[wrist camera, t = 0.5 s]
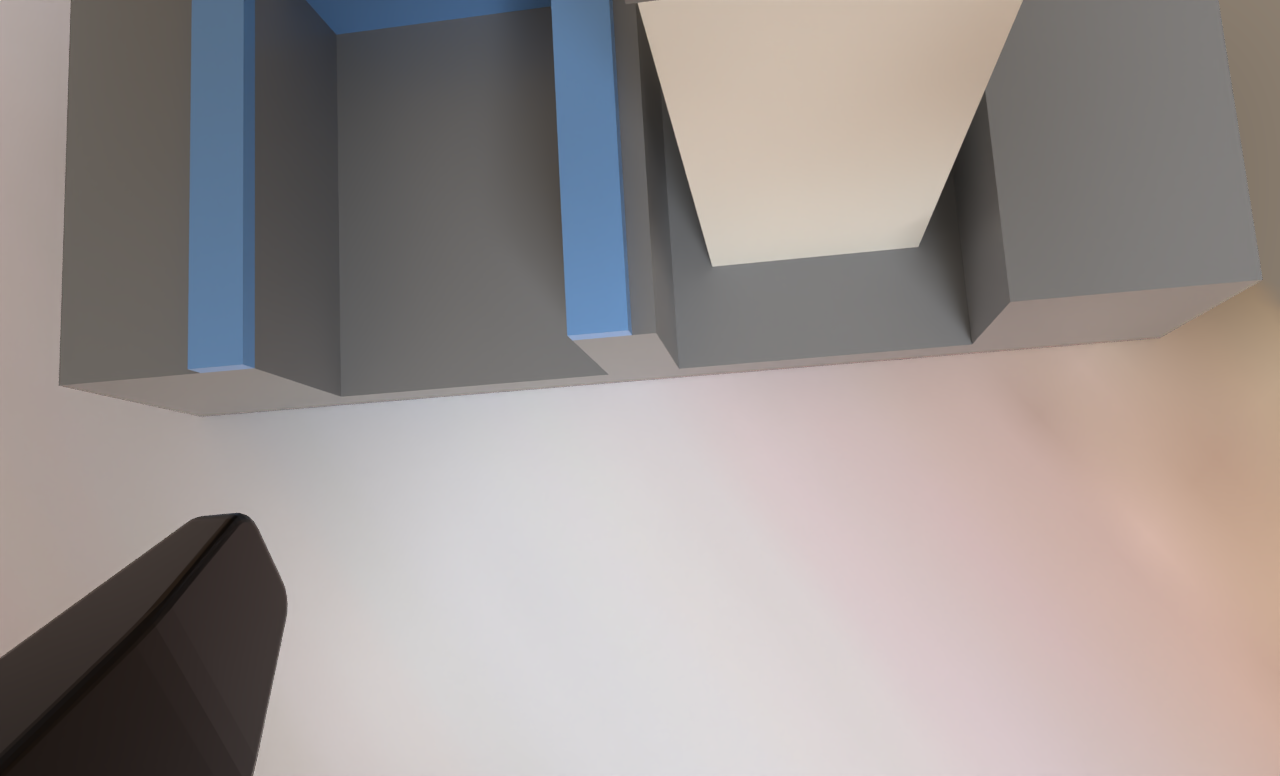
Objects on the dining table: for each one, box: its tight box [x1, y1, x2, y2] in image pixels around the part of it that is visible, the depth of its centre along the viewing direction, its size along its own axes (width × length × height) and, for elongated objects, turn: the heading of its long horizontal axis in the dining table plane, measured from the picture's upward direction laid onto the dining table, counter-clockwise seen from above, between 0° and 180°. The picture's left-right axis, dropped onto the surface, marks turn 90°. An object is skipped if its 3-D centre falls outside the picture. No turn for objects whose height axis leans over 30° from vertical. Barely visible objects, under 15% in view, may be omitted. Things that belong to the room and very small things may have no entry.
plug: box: [625, 0, 1023, 267], centre depth 15 cm, size 4×4×12 cm
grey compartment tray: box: [59, 0, 1263, 416], centre depth 20 cm, size 20×9×5 cm, turn 93°
